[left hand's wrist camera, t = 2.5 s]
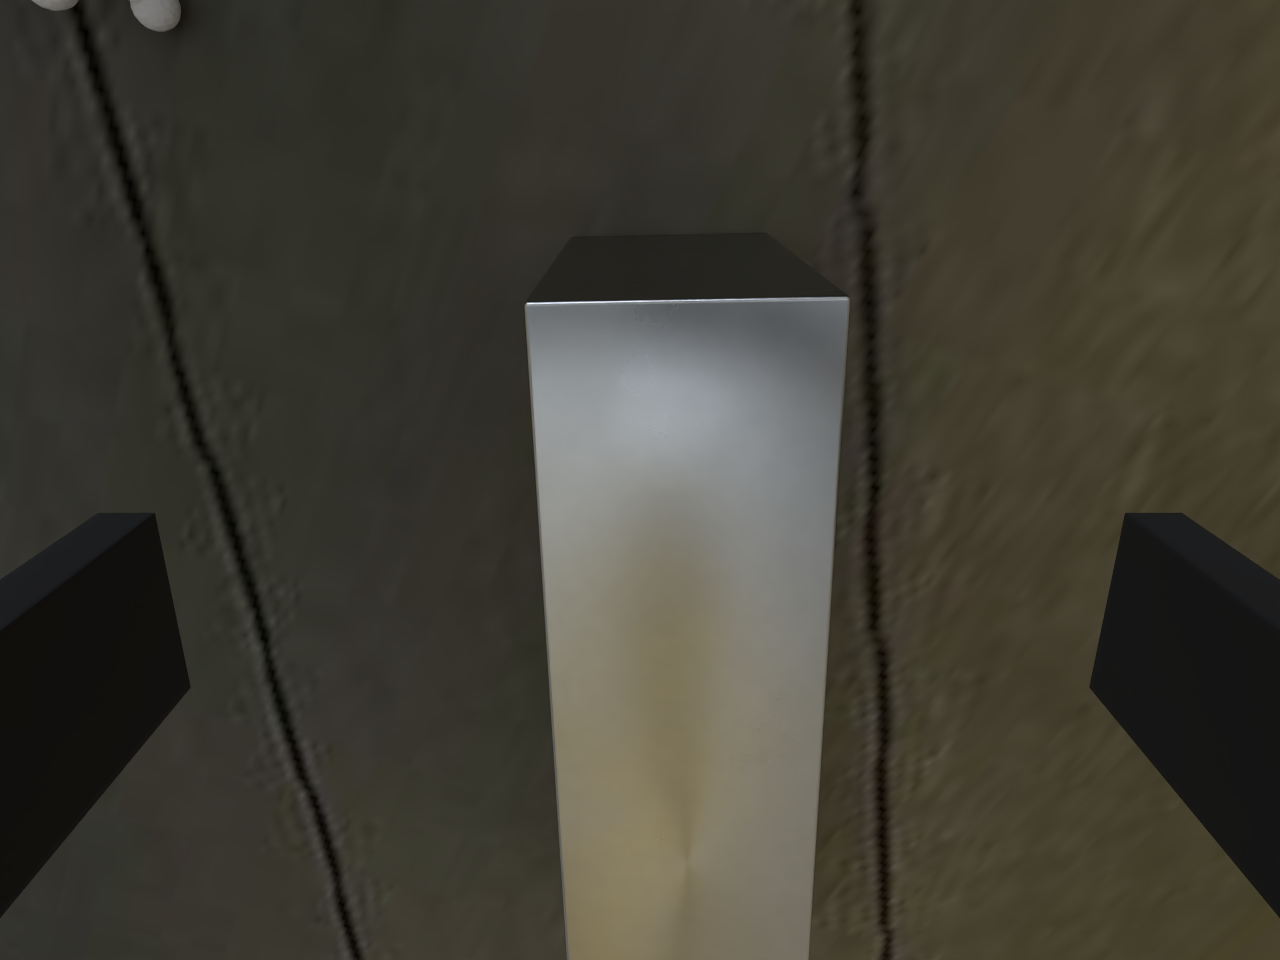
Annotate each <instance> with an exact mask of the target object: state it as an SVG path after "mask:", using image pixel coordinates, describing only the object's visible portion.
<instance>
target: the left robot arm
mask: <svg viewBox="0 0 1280 960" xmlns="http://www.w3.org/2000/svg"><path fill="white" fill-rule="evenodd" d="M189 689H190V682H189V677H188V672H187V668H186V663H185V658H184V653H183V648H182V643H181V638H180V633H179V629H178V624H177V619H176V614H175V609H174V604H173V599H172V595H171V590H170V585H169V580H168V575H167V570H166V565H165V560H164V556H163V551H162V546H161V541H160V536H159V531H158V526H157V522H156V517H155V513H97V514H96V515H95V516H93V517H92V518H90V519H89V520H87V521H86V522H84V523H83V524H81V525H80V526H78V527H77V528H76V529H74V530H73V531H71V532H70V533H68V534H67V535H65V536H64V537H62V538H61V539H59V540H58V541H56V542H55V543H54V544H52V545H51V546H49V547H48V548H46V549H45V550H43V551H42V552H40V553H39V554H37V555H36V556H35V557H33V558H32V559H30V560H29V561H27V562H26V563H24V564H23V565H21V566H20V567H18V568H17V569H15V570H14V571H13V572H11V573H10V574H8V575H7V576H5V577H4V578H2V579H1V580H0V918H1V916H2V915H3V914H4V913H5V912H6V910H7V909H8V908H9V907H10V906H11V904H12V903H13V902H14V901H15V900H16V898H17V897H18V896H19V895H20V893H21V892H22V891H23V890H24V889H25V887H26V886H27V885H28V884H29V883H30V881H31V880H32V879H33V878H34V876H35V875H36V874H37V873H38V872H39V870H40V869H41V868H42V867H43V866H44V864H45V863H46V862H47V861H48V860H49V858H50V857H51V856H52V855H53V853H54V852H55V851H56V850H57V849H58V847H59V846H60V845H61V844H62V843H63V841H64V840H65V839H66V838H67V837H68V835H69V834H70V833H71V832H72V830H73V829H74V828H75V827H76V826H77V824H78V823H79V822H80V821H81V820H82V818H83V817H84V816H85V815H86V813H87V812H88V811H89V810H90V809H91V807H92V806H93V805H94V804H95V803H96V801H97V800H98V799H99V798H100V797H101V795H102V794H103V793H104V792H105V790H106V789H107V788H108V787H109V786H110V784H111V783H112V782H113V781H114V780H115V778H116V777H117V776H118V775H119V774H120V772H121V771H122V770H123V769H124V767H125V766H126V765H127V764H128V763H129V761H130V760H131V759H132V758H133V757H134V755H135V754H136V753H137V752H138V750H139V749H140V748H141V747H142V746H143V744H144V743H145V742H146V741H147V740H148V738H149V737H150V736H151V735H152V734H153V732H154V731H155V730H156V729H157V727H158V726H159V725H160V724H161V723H162V721H163V720H164V719H165V718H166V717H167V715H168V714H169V713H170V712H171V711H172V709H173V708H174V707H175V706H176V704H177V703H178V702H179V701H180V700H181V698H182V697H183V696H184V695H185V694H186V692H187V691H188V690H189ZM1090 689H1091V690H1092V691H1093V692H1094V694H1095V695H1096V696H1097V697H1098V698H1099V700H1100V701H1101V702H1102V703H1103V704H1104V706H1105V707H1106V708H1107V709H1108V711H1109V712H1110V713H1111V714H1112V715H1113V717H1114V718H1115V719H1116V720H1117V721H1118V723H1119V724H1120V725H1121V726H1122V727H1123V729H1124V730H1125V731H1126V732H1127V734H1128V735H1129V736H1130V737H1131V738H1132V740H1133V741H1134V742H1135V743H1136V744H1137V746H1138V747H1139V748H1140V749H1141V750H1142V752H1143V753H1144V754H1145V755H1146V757H1147V758H1148V759H1149V760H1150V761H1151V763H1152V764H1153V765H1154V766H1155V767H1156V769H1157V770H1158V771H1159V772H1160V774H1161V775H1162V776H1163V777H1164V778H1165V780H1166V781H1167V782H1168V783H1169V784H1170V786H1171V787H1172V788H1173V789H1174V790H1175V792H1176V793H1177V794H1178V795H1179V797H1180V798H1181V799H1182V800H1183V801H1184V803H1185V804H1186V805H1187V806H1188V807H1189V809H1190V810H1191V811H1192V812H1193V813H1194V815H1195V816H1196V817H1197V818H1198V820H1199V821H1200V822H1201V823H1202V824H1203V826H1204V827H1205V828H1206V829H1207V830H1208V832H1209V833H1210V834H1211V835H1212V837H1213V838H1214V839H1215V840H1216V841H1217V843H1218V844H1219V845H1220V846H1221V847H1222V849H1223V850H1224V851H1225V852H1226V853H1227V855H1228V856H1229V857H1230V858H1231V860H1232V861H1233V862H1234V863H1235V864H1236V866H1237V867H1238V868H1239V869H1240V870H1241V872H1242V873H1243V874H1244V875H1245V876H1246V878H1247V879H1248V880H1249V881H1250V883H1251V884H1252V885H1253V886H1254V887H1255V889H1256V890H1257V891H1258V892H1259V893H1260V895H1261V896H1262V897H1263V898H1264V900H1265V901H1266V902H1267V903H1268V904H1269V906H1270V907H1271V908H1272V909H1273V910H1274V912H1275V913H1276V914H1277V915H1278V916H1279V918H1280V580H1279V579H1278V578H1276V577H1275V576H1273V575H1272V574H1270V573H1269V572H1267V571H1266V570H1265V569H1263V568H1262V567H1260V566H1259V565H1257V564H1256V563H1254V562H1253V561H1251V560H1250V559H1248V558H1247V557H1245V556H1244V555H1243V554H1241V553H1240V552H1238V551H1237V550H1235V549H1234V548H1232V547H1231V546H1229V545H1228V544H1226V543H1225V542H1224V541H1222V540H1221V539H1219V538H1218V537H1216V536H1215V535H1213V534H1212V533H1210V532H1209V531H1207V530H1206V529H1204V528H1203V527H1202V526H1200V525H1199V524H1197V523H1196V522H1194V521H1193V520H1191V519H1190V518H1188V517H1187V516H1185V515H1184V514H1183V513H1125V517H1124V522H1123V526H1122V531H1121V536H1120V541H1119V546H1118V551H1117V556H1116V560H1115V565H1114V570H1113V575H1112V580H1111V585H1110V590H1109V595H1108V599H1107V604H1106V609H1105V614H1104V619H1103V624H1102V629H1101V633H1100V638H1099V643H1098V648H1097V653H1096V658H1095V663H1094V668H1093V672H1092V677H1091V682H1090Z"/></svg>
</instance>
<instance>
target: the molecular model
mask: <svg viewBox="0 0 1280 960" xmlns="http://www.w3.org/2000/svg"><path fill="white" fill-rule="evenodd" d="M32 1H34V2H35V3H36V4H38V5H39V6H41V7H43V8H46V9H50V10H54V11H58V10H67V9H69V8H71V7H73V6H74V5H75V4H76V3H77V2H78V0H32ZM130 3H131V9H132V11H133V13H134V15H135V17H136V18H137V19H138V20H139V21H140V22H141V23H142V24H143V25H144V26H145V27H147V28H149V29H151V30H155V31H159V32H160V31H167V30H170V29H172V28H174V27H175V26H176V25H177V24H178V22H179V20H180V16H181V8H180V3H179V0H130Z"/></svg>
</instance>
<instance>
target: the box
mask: <svg viewBox="0 0 1280 960" xmlns="http://www.w3.org/2000/svg"><path fill="white" fill-rule="evenodd" d="M850 301H851V299H850V297H849V296H848V295H847V294H846V293H844V292H843V291H842V290H840V289H839V288H838V287H836V286H835V285H834V284H832V283H831V282H830V281H829V280H827V279H826V278H825V277H823V276H822V275H821V274H819V273H818V272H817V271H815V270H814V269H813V268H811V267H810V266H809V265H808V264H806V263H805V262H804V261H802V260H801V259H800V258H798V257H797V256H796V255H794V254H793V253H792V252H790V251H789V250H788V249H787V248H785V247H784V246H783V245H781V244H780V243H779V242H777V241H776V240H775V239H773V238H772V237H771V236H769V235H768V234H766V233H751V234H701V235H652V236H602V237H572V238H571V239H570V240H569V241H568V243H567V244H566V246H565V247H564V248H563V250H562V251H561V253H560V254H559V255H558V257H557V258H556V260H555V261H554V262H553V264H552V265H551V267H550V268H549V270H548V271H547V272H546V274H545V275H544V277H543V278H542V279H541V281H540V282H539V284H538V285H537V286H536V288H535V289H534V291H533V292H532V293H531V295H530V296H529V298H528V299H527V300H526V302H525V304H524V318H525V333H526V349H527V364H528V379H529V394H530V410H531V425H532V440H533V455H534V471H535V486H536V501H537V516H538V532H539V547H540V562H541V577H542V593H543V608H544V623H545V638H546V654H547V669H548V684H549V699H550V715H551V730H552V745H553V761H554V776H555V791H556V806H557V822H558V837H559V852H560V867H561V883H562V898H563V913H564V928H565V944H566V959H567V960H809V950H810V934H811V918H812V902H813V886H814V871H815V855H816V839H817V823H818V807H819V791H820V776H821V760H822V744H823V728H824V712H825V696H826V681H827V665H828V649H829V633H830V617H831V601H832V586H833V570H834V554H835V538H836V522H837V506H838V491H839V475H840V459H841V443H842V427H843V411H844V396H845V380H846V364H847V348H848V332H849V316H850Z"/></svg>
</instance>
